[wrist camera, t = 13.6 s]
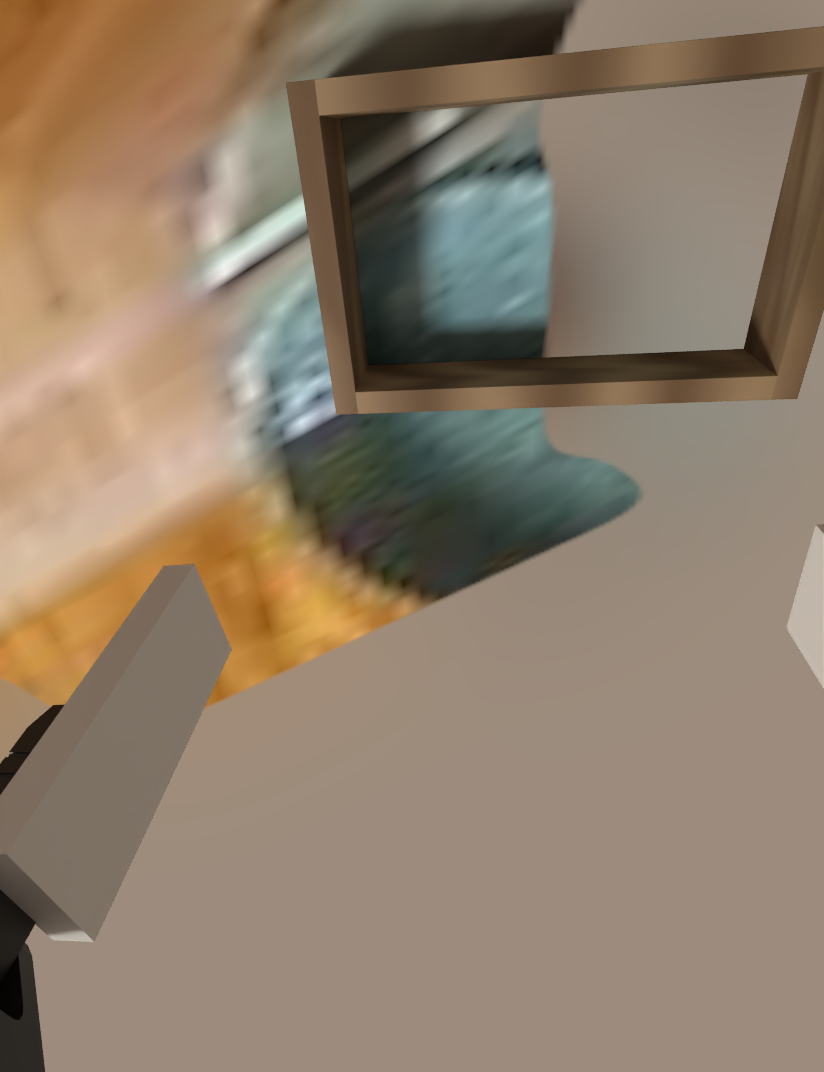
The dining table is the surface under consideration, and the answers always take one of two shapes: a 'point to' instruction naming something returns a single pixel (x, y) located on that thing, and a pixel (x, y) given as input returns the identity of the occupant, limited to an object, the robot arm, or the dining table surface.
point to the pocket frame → (672, 377)
